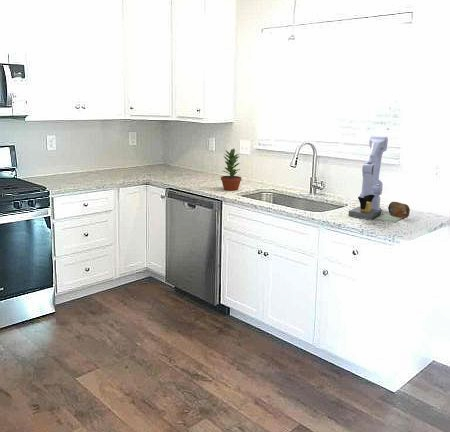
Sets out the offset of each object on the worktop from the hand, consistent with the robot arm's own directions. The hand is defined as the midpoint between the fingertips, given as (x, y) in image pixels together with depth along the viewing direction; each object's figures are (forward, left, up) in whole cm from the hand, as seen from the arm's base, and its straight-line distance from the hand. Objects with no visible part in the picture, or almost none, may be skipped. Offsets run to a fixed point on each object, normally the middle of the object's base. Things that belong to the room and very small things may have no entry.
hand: (365, 208), depth 296 cm
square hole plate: (0, 0, -4) cm, 4 cm away
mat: (-1, +13, -4) cm, 14 cm away
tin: (-10, +16, -5) cm, 19 cm away
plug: (0, 0, -4) cm, 4 cm away
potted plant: (-11, -104, -5) cm, 105 cm away
